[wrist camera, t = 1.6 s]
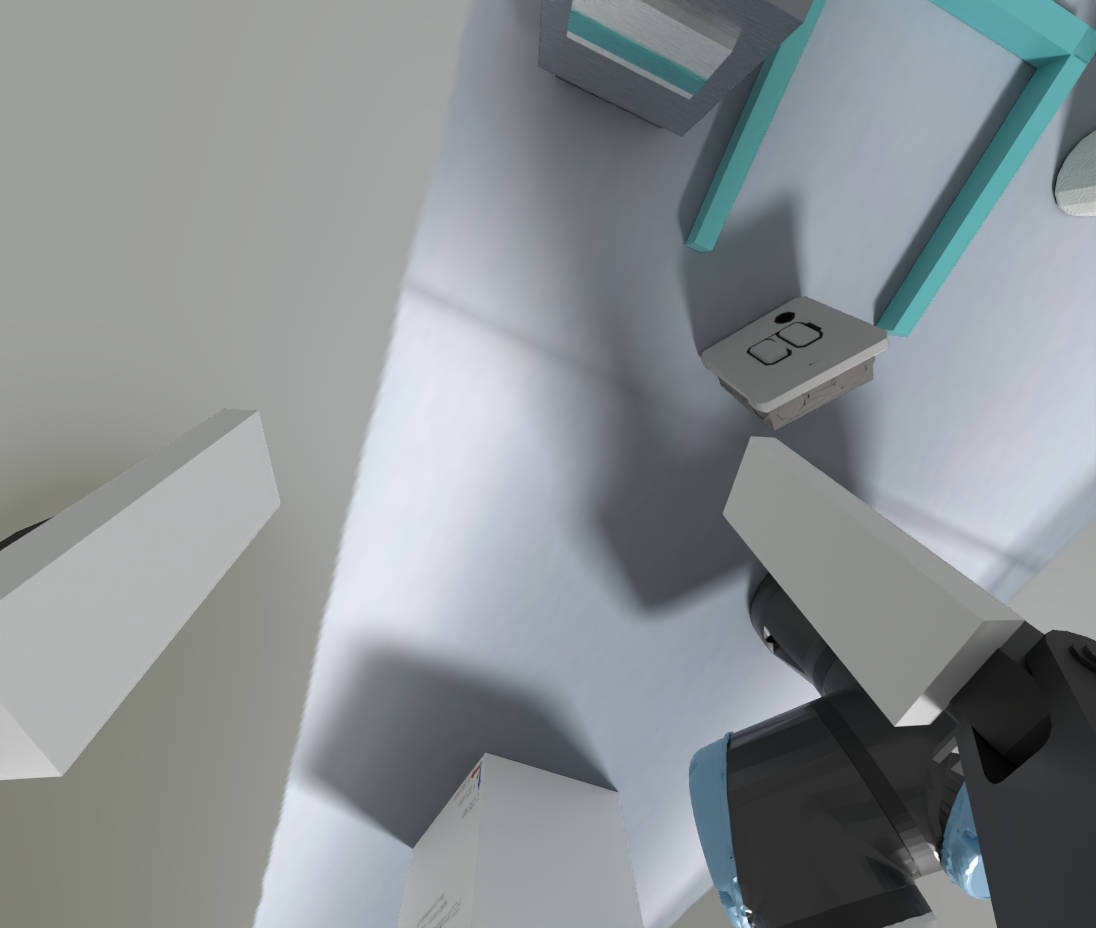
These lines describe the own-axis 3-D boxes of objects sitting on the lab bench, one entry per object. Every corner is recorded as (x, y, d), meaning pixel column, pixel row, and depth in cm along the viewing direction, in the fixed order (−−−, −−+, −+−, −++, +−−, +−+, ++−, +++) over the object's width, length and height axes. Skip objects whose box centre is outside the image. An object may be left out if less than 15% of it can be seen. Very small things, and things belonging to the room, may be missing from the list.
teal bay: (1069, 52, 29) (1105, 37, 27) (887, 334, 36) (907, 337, 34) (834, -102, 25) (858, -132, 24) (684, 245, 33) (694, 242, 31)
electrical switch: (799, 293, 34) (891, 309, 26) (813, 347, 37) (901, 377, 29) (695, 353, 36) (752, 386, 28) (714, 401, 38) (772, 444, 30)
